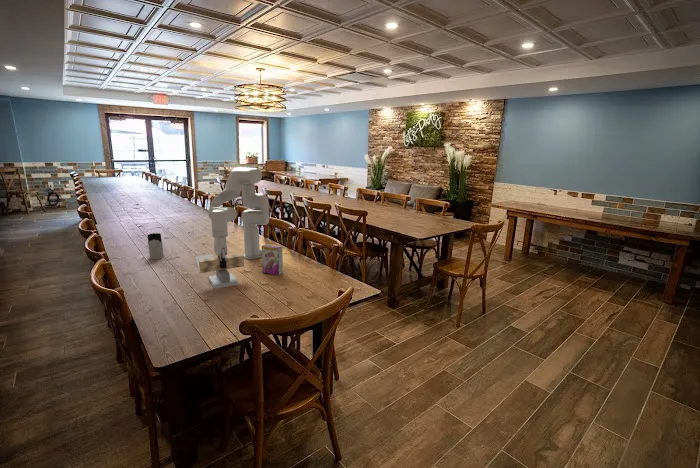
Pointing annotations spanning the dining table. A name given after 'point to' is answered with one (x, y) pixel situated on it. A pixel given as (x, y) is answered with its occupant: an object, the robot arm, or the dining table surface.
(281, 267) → the candy bar box
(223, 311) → the dining table surface
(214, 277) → the plinth
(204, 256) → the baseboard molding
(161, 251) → the glass holder
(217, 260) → the oak bar
